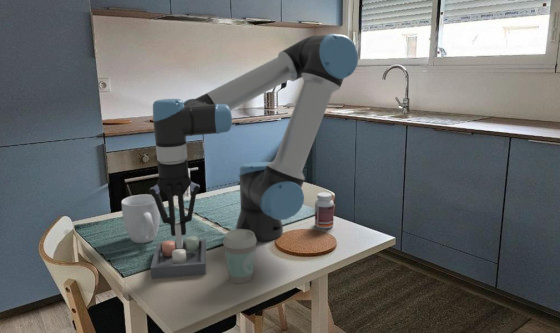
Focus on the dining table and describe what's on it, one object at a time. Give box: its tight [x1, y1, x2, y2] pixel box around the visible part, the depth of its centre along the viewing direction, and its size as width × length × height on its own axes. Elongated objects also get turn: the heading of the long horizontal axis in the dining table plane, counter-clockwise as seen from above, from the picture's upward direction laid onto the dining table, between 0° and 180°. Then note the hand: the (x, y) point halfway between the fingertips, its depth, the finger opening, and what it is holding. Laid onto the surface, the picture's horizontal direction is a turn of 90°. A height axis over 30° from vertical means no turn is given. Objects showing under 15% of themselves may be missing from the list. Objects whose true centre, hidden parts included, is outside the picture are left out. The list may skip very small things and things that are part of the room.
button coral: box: [162, 240, 175, 257], centre depth 126 cm, size 4×4×3 cm
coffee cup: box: [222, 228, 258, 284], centre depth 114 cm, size 8×9×12 cm
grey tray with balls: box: [150, 239, 207, 279], centre depth 124 cm, size 14×16×3 cm
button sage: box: [184, 235, 200, 252], centre depth 126 cm, size 4×4×3 cm
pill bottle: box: [314, 191, 335, 230], centre depth 148 cm, size 6×6×11 cm
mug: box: [120, 193, 161, 244], centre depth 137 cm, size 15×11×13 cm
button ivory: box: [172, 249, 186, 264], centre depth 120 cm, size 4×4×3 cm
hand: (179, 245), depth 120 cm, fingers closed
